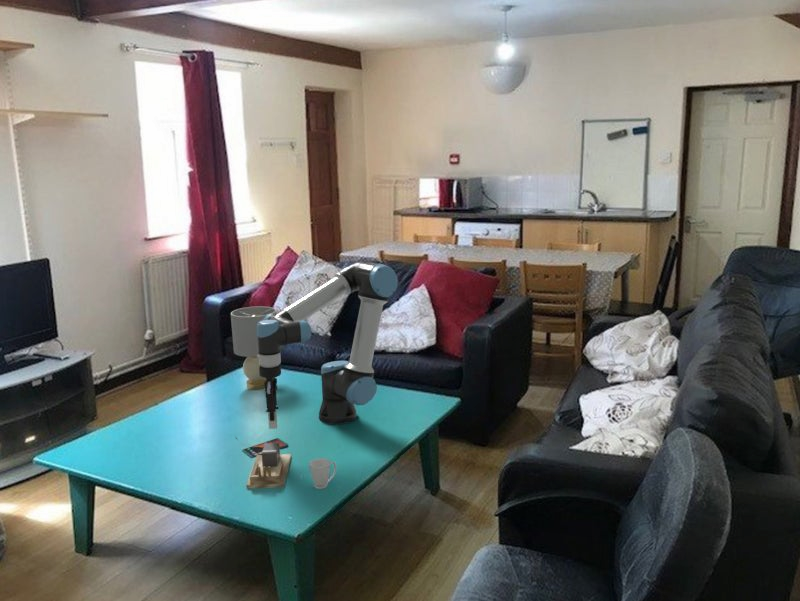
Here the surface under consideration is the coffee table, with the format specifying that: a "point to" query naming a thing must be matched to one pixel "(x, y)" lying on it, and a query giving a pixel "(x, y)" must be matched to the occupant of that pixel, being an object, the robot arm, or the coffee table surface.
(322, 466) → the cup
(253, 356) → the lamp
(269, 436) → the coffee table surface
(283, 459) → the board
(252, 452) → the smartphone
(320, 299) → the robot arm
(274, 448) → the plug
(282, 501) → the coffee table surface
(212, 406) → the coffee table surface
